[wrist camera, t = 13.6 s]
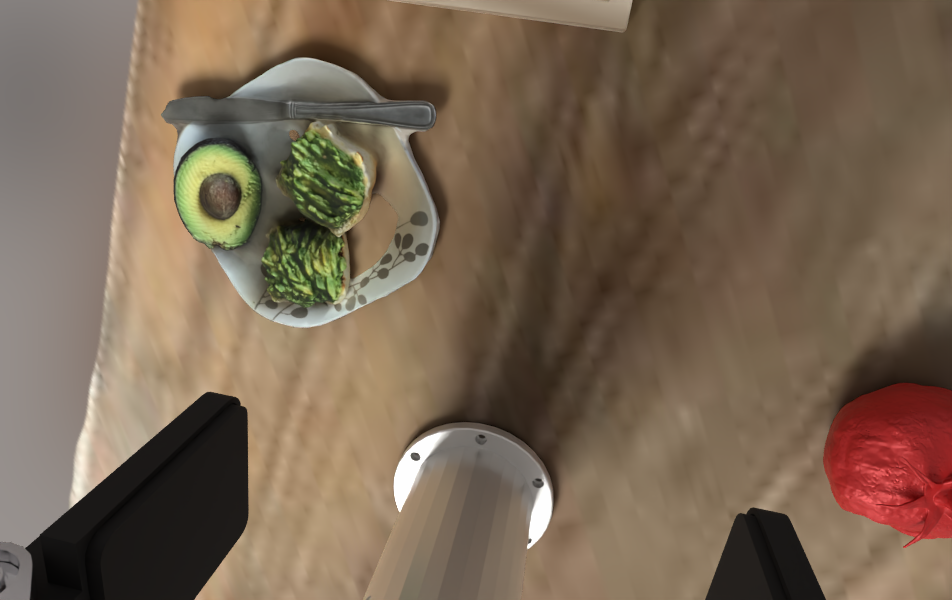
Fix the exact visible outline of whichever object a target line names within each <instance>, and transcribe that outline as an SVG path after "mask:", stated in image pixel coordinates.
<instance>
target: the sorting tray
mask: <svg viewBox="0 0 952 600" xmlns="http://www.w3.org/2000/svg"><path fill="white" fill-rule="evenodd" d="M389 1H396V2H404V3H411V4H418V5H426V6H433V7H440V8H448V9H455V10H462V11H470V12H477V13H484V14H492V15H499V16H506V17H514V18H521V19H528V20H536V21H543V22H550V23H558V24H565V25H572V26H580V27H587V28H594V29H602V30H609V31H616V32H624V31H625V30H626V29H627V24H628V19H629V15H630V10H631V5H632V0H389Z"/></svg>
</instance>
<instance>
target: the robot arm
mask: <svg viewBox="0 0 952 600" xmlns="http://www.w3.org/2000/svg"><path fill="white" fill-rule="evenodd" d="M393 488H394V496H395V501H396V504H397V507H398V510H399V514H398V517H397V519H396V522H395V524H394V526H393V529H392V531H391V534H390V536H389V538H388V541H387V543H386V546H385V548H384V550H383V553H382V555H381V558H380V560H379V562H378V565H377V567H376V570H375V572H374V574H373V577H372V579H371V581H370V584H369V586H368V589H367V591H366V593H365V596H364V598H363V600H521V598H522V590H523V581H524V573H525V565H526V556H527V549H529V548H531V547H532V546H533V545H534V544H535V543H536V542H537V541H538V540H539V539H540V538H541V537H542V535H543V534H544V532H545V531H546V529H547V528H548V525H549V522H550V520H551V517H552V511H553V487H552V483H551V479H550V476H549V474H548V471H547V469H546V467H545V465H544V464H543V462H542V461H541V460H540V458H539V457H538V456H537V454H536V453H535V452H534V451H533V450H532V449H531V448H530V447H529V446H528V445H526V444H525V443H524V442H523V441H521V440H520V439H518V438H517V437H515V436H514V435H512V434H510V433H508V432H506V431H503V430H501V429H499V428H497V427H493V426H489V425H485V424H481V423H471V422H459V423H449V424H445V425H441V426H438V427H435V428H433V429H431V430H429V431H427V432H425V433H423V434H421V435H420V436H419V437H418V438H416V439H415V440H414V441H412V443H411V444H410V445H409V446H408V448H407V449H406V450H405V451H404V453H403V455H402V457H401V459H400V461H399V463H398V466H397V469H396V472H395V475H394V485H393ZM247 521H248V417H247V409H246V408H245V407H243V406H241V405H240V401H239V399H238V398H236V397H232V396H228V395H223V394H218V393H214V392H207V393H205V394H203V395H202V396H201V397H200V398H199V399H198V400H196V401H195V402H194V403H193V404H192V405H191V406H189V407H188V408H187V409H186V410H185V411H184V412H182V413H181V414H180V415H179V416H178V417H177V418H175V419H174V420H173V421H172V422H171V423H170V424H168V425H167V426H166V427H165V428H164V429H163V430H161V431H160V432H159V433H158V434H157V435H156V436H154V437H153V438H152V439H151V440H150V441H149V442H147V443H146V444H145V445H144V446H143V447H142V448H140V449H139V450H138V451H137V452H136V453H135V454H133V455H132V456H131V457H130V458H129V459H128V460H127V461H125V462H124V463H123V464H122V465H121V466H120V467H118V468H117V469H116V470H115V471H114V472H113V473H111V474H110V475H109V476H108V477H107V478H106V479H104V480H103V481H102V482H101V483H100V484H99V485H97V486H96V487H95V488H94V489H93V490H92V491H90V492H89V493H88V494H87V495H86V496H85V497H83V498H82V499H81V500H80V501H79V502H78V503H76V504H75V505H74V506H73V507H72V508H71V509H69V510H68V511H67V512H66V513H65V514H64V515H62V516H61V517H60V518H59V519H58V520H57V521H55V522H54V523H53V524H52V525H51V526H50V527H48V528H47V529H46V530H45V531H44V532H43V533H42V534H40V536H39V537H38V538H37V539H36V540H34V541H33V542H32V543H31V544H30V545H29V546H28V547H26V548H24V547H23V546H20V545H17V544H14V543H11V542H0V600H194V599H195V598H196V596H197V595H198V594H199V592H200V591H201V589H202V588H203V587H204V585H205V584H206V583H207V581H208V580H209V579H210V577H211V576H212V574H213V573H214V572H215V570H216V569H217V568H218V566H219V565H220V564H221V562H222V561H223V559H224V558H225V557H226V555H227V554H228V553H229V551H230V550H231V549H232V547H233V546H234V544H235V543H236V542H237V540H238V539H239V538H240V536H241V535H242V533H243V531H244V529H245V527H246V524H247ZM705 600H826V599H825V596H824V594H823V592H822V590H821V588H820V585H819V583H818V581H817V579H816V576H815V574H814V572H813V570H812V568H811V565H810V563H809V561H808V559H807V557H806V554H805V552H804V550H803V548H802V545H801V543H800V541H799V539H798V537H797V534H796V532H795V530H794V528H793V525H792V523H791V521H790V519H789V518H788V516H787V515H785V514H782V513H777V512H772V511H768V510H763V509H758V508H750V510H749V511H748V512H747V514H742V513H740V514H738V515H737V516H736V518H735V521H734V523H733V526H732V529H731V532H730V534H729V537H728V540H727V542H726V545H725V548H724V550H723V553H722V556H721V559H720V561H719V564H718V567H717V569H716V572H715V575H714V578H713V580H712V583H711V586H710V588H709V591H708V594H707V596H706V599H705Z"/></svg>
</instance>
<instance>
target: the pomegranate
mask: <svg viewBox="0 0 952 600" xmlns="http://www.w3.org/2000/svg"><path fill="white" fill-rule="evenodd" d="M823 462H824V468H825V472H826V474H827V477H828V479H829V482H830V485H831V490H832V493H833V495H834V497H835V499H836V501H837V503H838V504H839V505H840V507H841V508H842V509H844V510H846V511H849V512H852V513H854V514H858V515H862V516H865V517H867V518H869V519H871V520H873V521H875V522H877V523H881V524H885V525H890V526H891V527H893V528H895V529H897V530H898V531H900V532H902V533H904V534H907V535H910V536H913V537H915V538H914V539H913V540H912V541H910V542H909V543H908V544H907V545H905V546H904V547H903V548H906V547H907V546H909V545H911V544H913V543H915V542H917V541H919V540H921V539H935V538H952V390H948V389H945V388H940V387H935V386H921V385H918V384H915V383H898V384H894V385H890V386H888V387H885V388H882V389H879V390H877V391H874V392H871V393H868V394H865V395H861V396H860V397H858V398H856V399H855V400H853V401H852V402H849V403H847V404H846V405H845V406H844V407H843V408H842V409H841V410H840V411H839V412H838V414H837V415H836V417H835V419H834V420H833V423H832V425H831V427H830V430H829V434H828V436H827V440H826V443H825V448H824V457H823Z"/></svg>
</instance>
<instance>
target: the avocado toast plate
mask: <svg viewBox="0 0 952 600" xmlns="http://www.w3.org/2000/svg"><path fill="white" fill-rule="evenodd" d="M161 116H162V117H163V119H164V120H165V121H166V123H169V124H172V125H173V126H174V127H175V128H176V129H177V133H178V139H177V145H176V149H175V154H174V166H173V167H174V201H175V204H176V207H177V210H178V213H179V216H180V218H181V220H182V222H183V224H184V226H185V227H186V229H187V230H188V232H189V233H190V234H191V235H192V237H193V238H194V239H195V240H196V241H198V242H200V243H204V244H205V245H206V246H207V247H208V248H209V249H211V251H212V252H213V253H214V254H215V256H216V258H217V259H218V261H219V264H220V265H221V267H222V268H223V270H224V271H225V273H226V274H227V276H228V278H229V279H230V281H231V283H232V284H233V286H234V287H235V289H236V290H237V292H238V293H239V294H240V296H241V297H242V298H243V300H244V301H245V302H246V303H247V304H248V305H249V306H250V307H251V308H252V309H253V310H254V311H255V312H256V313H258V314H259V315H261V316H263V317H265V318H267V319H268V320H270V321H273V322H277V323H280V324H283V325H288V326H292V327H296V328H309V327H314V326H320V325H323V324H326V323H329V322H331V321H334V320H337V319H339V318H340V317H343V316H345V315H347V314H349V313H351V312H353V311H354V310H356V309H359V308H361V307H363V306H365V305H367V304H369V303H371V302H373V301H375V300H377V299H379V298H382V297H385V296H387V295H389V294H390V293H391V292H394V291H396V290H398V289H399V288H401V287H402V286H404V285H405V284H407V283H409V282H411V281H412V280H414V279H416V278H417V277H418V275H419V274H420V273H421V272H422V271H423V269H424V267H425V265H426V264H427V262H428V261H429V260H430V259H431V257H432V255H433V250H434V247H435V244H436V240H437V236H438V232H439V229H440V220H439V216H438V212H437V208H436V206H435V203H434V201H433V198H432V196H431V194H430V191H429V188H428V186H427V183H426V181H425V179H424V176H423V174H422V172H421V170H420V168H419V166H418V164H417V163H416V161H415V159H414V156H413V153H412V150H411V147H410V144H409V136H410V134H412V133H414V132H416V131H427V130H429V129H430V128H432V127H433V126H434V124H435V121H436V109H435V107H434V105H432V104H431V103H430V102H428V101H423V100H420V101H395V100H388V99H385V98H384V97H382V96H380V95H379V94H378V93H377V92H376V91H375V90H374V89H372V88H371V87H370V86H369V85H368V84H367V83H366V82H365V81H364V80H363V79H362V78H361V77H359V76H358V75H357V74H355V73H354V72H351V71H348V70H346V69H344V68H342V67H340V66H338V65H335V64H332V63H329V62H325V61H322V60H319V59H314V58H306V57H302V58H294V59H291V60H289V61H286V62H284V63H282V64H279V65H277V66H275V67H273V68H271V69H270V70H268V71H266V72H265V73H264V74H262V75H260V76H259V77H257V78H256V79H254V80H252V81H251V82H249V83H247V84H245V85H244V86H242V87H241V88H240V89H238V90H237V91H235V92H234V93H233V94H232V95H230V96H229V97H226V98H223V99H214V98H211V97H209V96H197V97H189V98H181V99H177V100H172V101H169V103H168V105H167V106H166V109H165V110H164V111H163V113H162V114H161ZM290 130H296V131H297V132H298V134H299V135H300V138H298V139H297V140H296V141H293V140H292V139H291V138H290V136H289V131H290ZM375 193H378V194H380V195H381V196H382V197H383V198H384V199H385V200H386V201H387V202H388V203H389V204H390V205H391V206H392V208H393V209H394V210H395V212H396V213H397V214H398V223H397V228H396V232H395V235H394V238H393V240H392V241H391V243H390V245H389V248H388V250H387V251H386V253H385V254H384V255H383V256H382V258H381V259H380V260H379V261H378V262H377V263H376V264H375V265H374V266H373V267H371V268H370V269H368V270H367V271H365V272H364V273H362V274H361V275H359V276H357V277H355V278H353V279H350V263H349V258H350V256H349V248H348V243H347V238H346V231H348V230H349V229H351V228H352V227H353V226H355V225H356V224H357V223H358V222H360V221H361V220H362V219H363V218H364V216H365V215H366V213H367V211H368V209H369V205H370V200H371V195H372V194H375ZM302 217H303V218H306V220H305V222H301V221H299V220H298V219H299V218H302Z"/></svg>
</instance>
